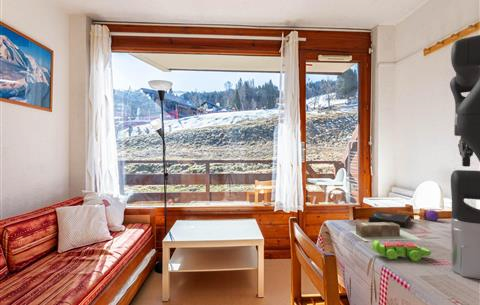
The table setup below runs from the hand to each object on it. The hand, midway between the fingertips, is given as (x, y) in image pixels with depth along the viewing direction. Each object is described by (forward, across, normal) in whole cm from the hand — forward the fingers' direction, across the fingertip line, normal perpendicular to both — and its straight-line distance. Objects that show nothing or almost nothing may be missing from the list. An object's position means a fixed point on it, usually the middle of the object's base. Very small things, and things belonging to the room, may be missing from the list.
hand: (466, 166), depth 107 cm
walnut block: (+30, -4, -24) cm, 39 cm away
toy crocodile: (+33, +24, -25) cm, 48 cm away
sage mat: (+33, -1, -29) cm, 44 cm away
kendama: (+33, -44, -11) cm, 56 cm away
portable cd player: (+34, -27, -26) cm, 50 cm away
